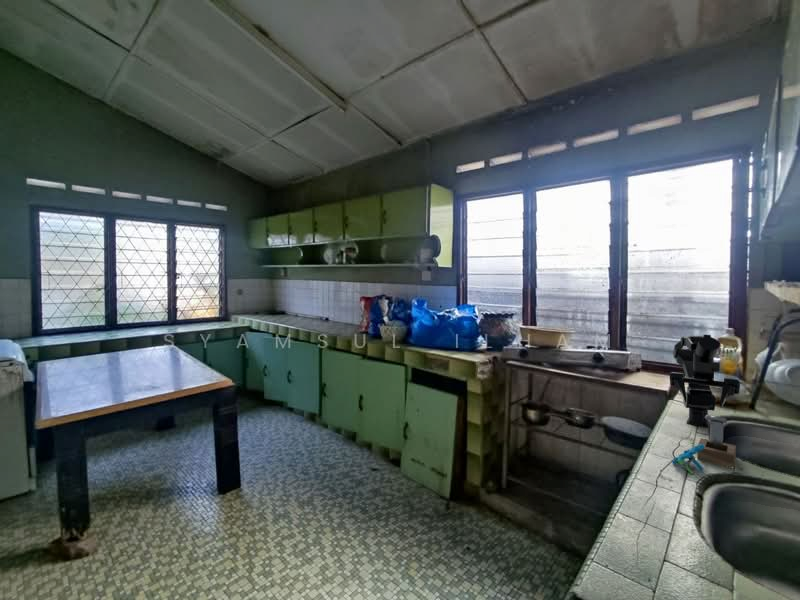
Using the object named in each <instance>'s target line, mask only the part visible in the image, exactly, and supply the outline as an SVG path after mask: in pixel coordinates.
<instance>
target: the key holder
mask: <svg viewBox="0 0 800 600" xmlns="http://www.w3.org/2000/svg"><path fill="white" fill-rule="evenodd" d="M701 444H703V445H704V446H705V447H704V448H703V449H702V450H701V451H697V452H698V453H696V454H697V456H696V457H697V460H699V461H703V462H706V463H710V464H714V465H719V466H721V465H723V466H722V467H725V466H728V467H727V468H729V467H733V468H734V469H735V464H736V458H737V457H736V454H737V453H736V452H737V451H736V449H737V447H736V445H734V444H731V443H726V442H723V451H722V450H717V449H713V448H710V439H707V438H703V437H701V438H700V439H699V442H698V444H697V446H698V445H701ZM733 468H732V469H733Z"/></svg>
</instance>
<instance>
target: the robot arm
mask: <svg viewBox="0 0 800 600" xmlns="http://www.w3.org/2000/svg"><path fill="white" fill-rule="evenodd" d="M720 346H721V343H720V341H719V340H718V339H716V338H715V337H712V335H711V334H702V335H689V336H681V337H680V340H679V341H678V342H677V343H675V344H674V346H673V352H672V353H673V355H672V356H673V358H674V359H675V361H676V363H677V364H678V365H680V366H682V369H683V372H675V371H671V372H670V373H669V385H670V386H672V387H674V388H675V389H678V391H679V392H680V394H681V397H682V398H683V406H684V407H685V408H686V409H688V418H687V420H686V424H689V425H693V426H699V427H702V428H709V427H710V424H711V420H707V419H705V416H706V415H709V411H715V409H716V403H717V398H716V397H715V395H714V394H713V391H712V389H711V387H716V388H721V395H720V401H719V407H720V408H723V406H724V404H725V402H726V401H727V399H728V398H730V396H735V395H739V394H740V388H741V382H740V380H739V379H738V378H731V377H730V378H729V377H723V381H721V380H715V373H720V370H721V366H720V362H717V361H715V358H716V356H717V354H718V351H719V349H720ZM684 375H685V376H684ZM685 384H687V385H688V386H685ZM686 388H687V389H686Z"/></svg>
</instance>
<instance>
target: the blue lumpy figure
mask: <svg viewBox="0 0 800 600" xmlns="http://www.w3.org/2000/svg"><path fill="white" fill-rule="evenodd" d="M704 447H705V446H704V445H703V444H701V445H698V444H697V445H695V446H694V447H691V448H690V449H686V450H684V451H683V453H680V454H679V455H678V456H676V457H675V458H673V459H672V460H671V463H672V464H673V465H677V464H678V463H679V464H680V465H681V467H682V468H685V469H686V470H687V471H688V472H689V473H690V475H693V474H694V472H693V471H692V469H691V468H690V467H689V464H690V463H693V464H694V465H695V466H696V467H697V468H698V470H699V471H703V470H705V469H704V467H703V466H702V465H701V464H700V463H699V462H698V461H697V460H696V456H694V455H696V454H697V453H698V452H697V451H701V450H702V449H703V448H704ZM685 460H687V461H685Z"/></svg>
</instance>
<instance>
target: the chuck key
mask: <svg viewBox="0 0 800 600" xmlns="http://www.w3.org/2000/svg"><path fill="white" fill-rule="evenodd" d="M705 419H707V420H708V421H710V425H709V427H710V429H709V430H710V435H709V440H710V448H713V449H717V450H722V451H723V443H724V423H725V424H727V421H728V420H727V418H725V417H719V416H714V415H709V414H708V415H706V416H705Z"/></svg>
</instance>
